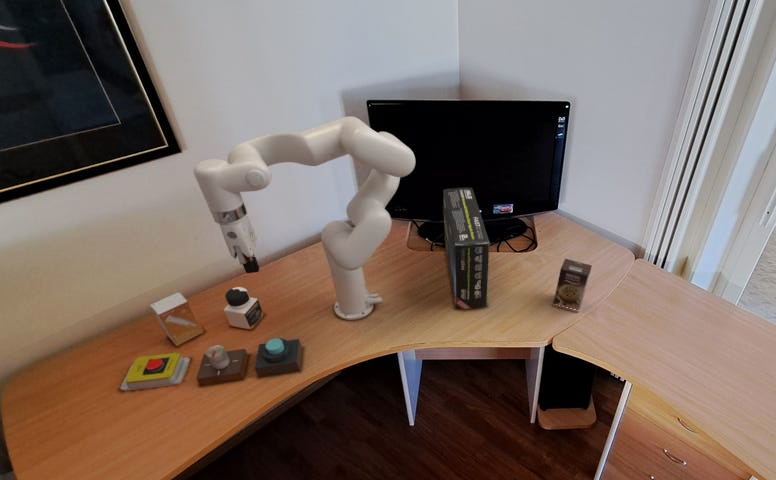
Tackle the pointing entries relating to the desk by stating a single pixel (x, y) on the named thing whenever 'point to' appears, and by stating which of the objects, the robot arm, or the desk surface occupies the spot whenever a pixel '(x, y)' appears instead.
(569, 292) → the coffee box
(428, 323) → the desk surface
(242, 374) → the rotary knob switch
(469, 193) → the router box
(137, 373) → the emergency button
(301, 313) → the desk surface
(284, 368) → the button housing
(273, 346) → the teal button cap
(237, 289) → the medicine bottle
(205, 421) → the desk surface
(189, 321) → the small box
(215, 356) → the dial
